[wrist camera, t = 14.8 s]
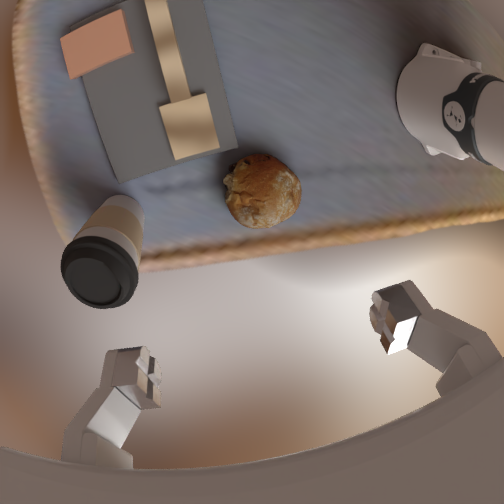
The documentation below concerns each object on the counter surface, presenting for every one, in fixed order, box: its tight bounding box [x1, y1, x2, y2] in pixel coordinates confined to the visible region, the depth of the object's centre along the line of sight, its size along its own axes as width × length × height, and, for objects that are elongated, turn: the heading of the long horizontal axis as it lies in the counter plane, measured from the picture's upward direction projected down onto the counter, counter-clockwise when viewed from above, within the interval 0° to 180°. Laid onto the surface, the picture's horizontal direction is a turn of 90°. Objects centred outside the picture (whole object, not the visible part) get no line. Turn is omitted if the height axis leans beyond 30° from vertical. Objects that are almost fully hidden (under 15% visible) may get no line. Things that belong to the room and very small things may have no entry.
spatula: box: [145, 0, 220, 160], centre depth 26 cm, size 23×6×2 cm, turn 11°
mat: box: [70, 0, 238, 184], centre depth 28 cm, size 16×23×1 cm
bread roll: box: [223, 154, 301, 229], centre depth 37 cm, size 10×10×8 cm
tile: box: [60, 9, 135, 79], centre depth 23 cm, size 2×6×8 cm
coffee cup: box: [61, 195, 145, 309], centre depth 32 cm, size 9×9×15 cm
